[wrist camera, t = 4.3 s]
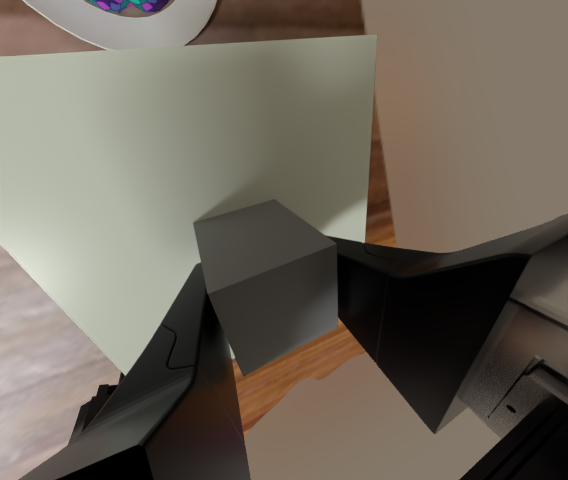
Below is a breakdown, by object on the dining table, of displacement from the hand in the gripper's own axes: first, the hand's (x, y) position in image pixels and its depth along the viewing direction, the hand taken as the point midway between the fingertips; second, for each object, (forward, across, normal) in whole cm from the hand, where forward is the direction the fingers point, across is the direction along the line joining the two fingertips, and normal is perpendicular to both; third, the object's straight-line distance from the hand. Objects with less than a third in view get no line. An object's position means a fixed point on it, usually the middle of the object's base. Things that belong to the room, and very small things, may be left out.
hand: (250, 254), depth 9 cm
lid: (+2, 0, 0) cm, 2 cm away
